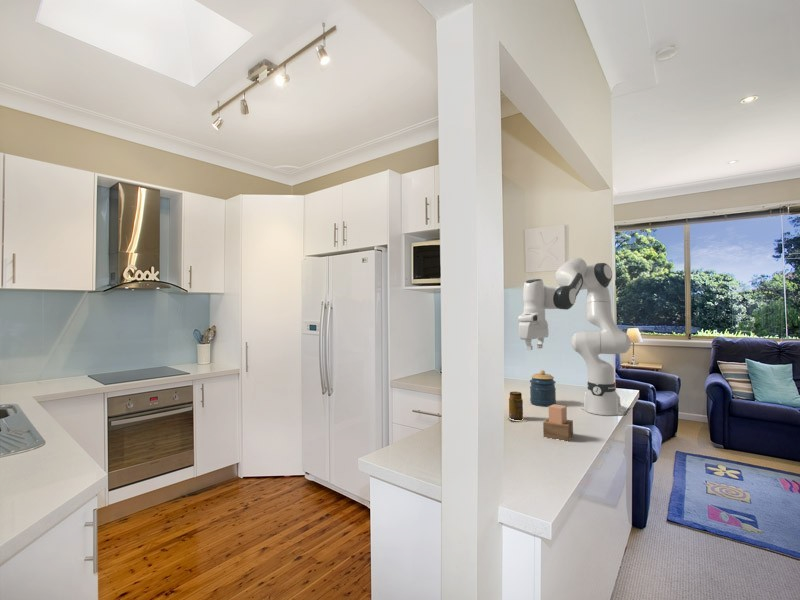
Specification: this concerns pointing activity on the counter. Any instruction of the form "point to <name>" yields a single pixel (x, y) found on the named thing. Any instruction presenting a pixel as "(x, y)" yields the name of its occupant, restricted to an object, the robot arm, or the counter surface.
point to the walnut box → (558, 430)
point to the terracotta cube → (557, 414)
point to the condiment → (516, 406)
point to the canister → (542, 389)
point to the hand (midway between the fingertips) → (534, 349)
